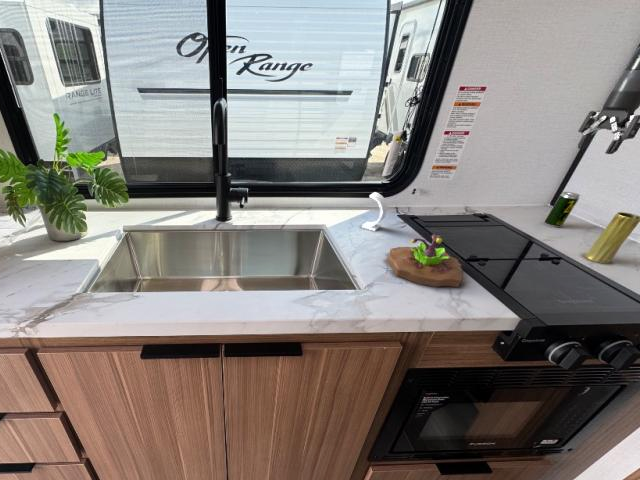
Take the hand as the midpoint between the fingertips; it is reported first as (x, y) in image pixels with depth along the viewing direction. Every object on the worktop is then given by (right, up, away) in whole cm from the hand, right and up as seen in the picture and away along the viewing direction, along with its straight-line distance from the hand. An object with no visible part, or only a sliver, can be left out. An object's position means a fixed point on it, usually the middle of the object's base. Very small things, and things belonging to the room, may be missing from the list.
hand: (594, 151), depth 101 cm
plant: (-58, -38, -6) cm, 69 cm away
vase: (+1, -34, +1) cm, 34 cm away
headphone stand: (-63, -20, +18) cm, 68 cm away
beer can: (+9, -18, +23) cm, 31 cm away
